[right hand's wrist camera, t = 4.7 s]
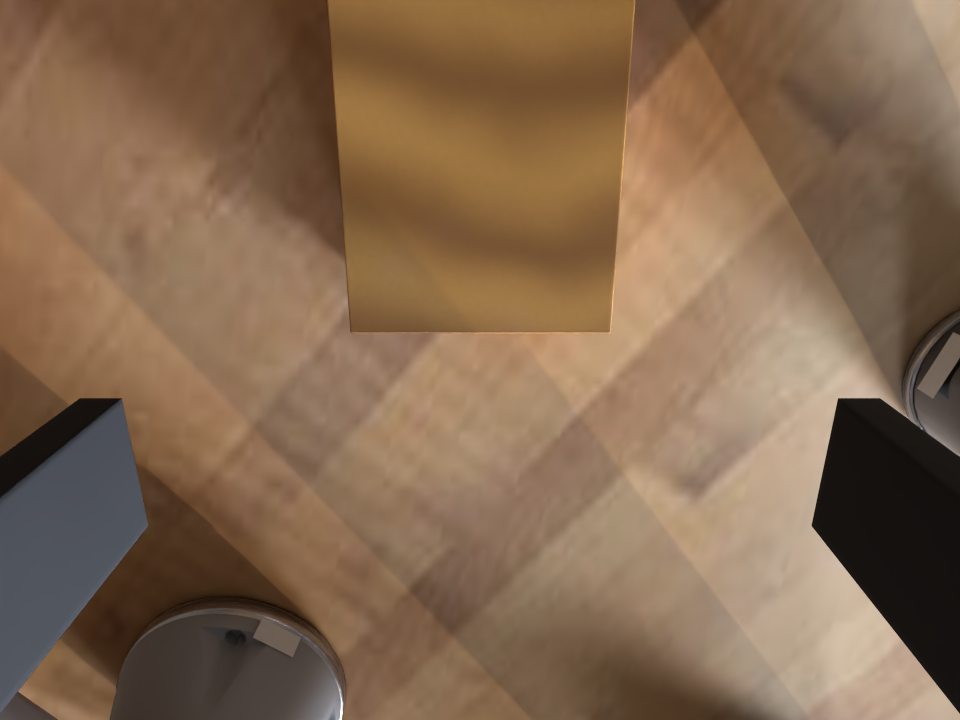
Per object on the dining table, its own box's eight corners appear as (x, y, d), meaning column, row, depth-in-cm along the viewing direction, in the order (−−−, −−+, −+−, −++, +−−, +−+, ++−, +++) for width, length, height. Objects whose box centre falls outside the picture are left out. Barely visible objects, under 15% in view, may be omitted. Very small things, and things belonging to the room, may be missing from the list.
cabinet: (352, -182, 30) (305, -289, 22) (609, -181, 30) (657, -289, 22) (377, 284, 37) (350, 333, 29) (582, 285, 37) (611, 334, 29)
